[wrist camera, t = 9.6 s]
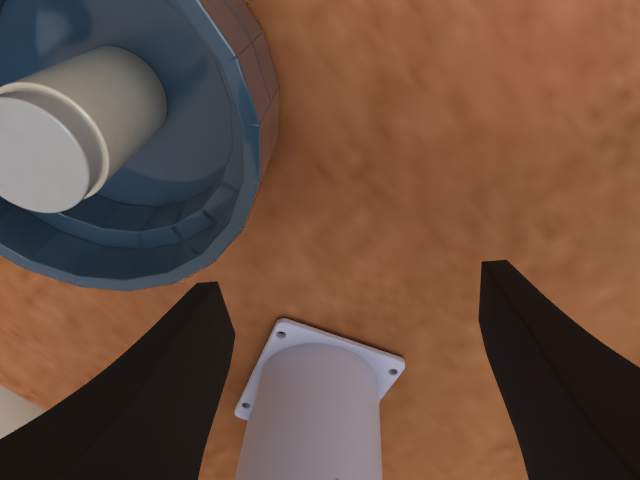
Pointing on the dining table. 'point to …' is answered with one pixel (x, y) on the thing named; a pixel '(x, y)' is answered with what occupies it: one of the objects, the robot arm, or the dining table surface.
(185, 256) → the bowl
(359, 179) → the dining table surface
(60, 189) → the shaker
